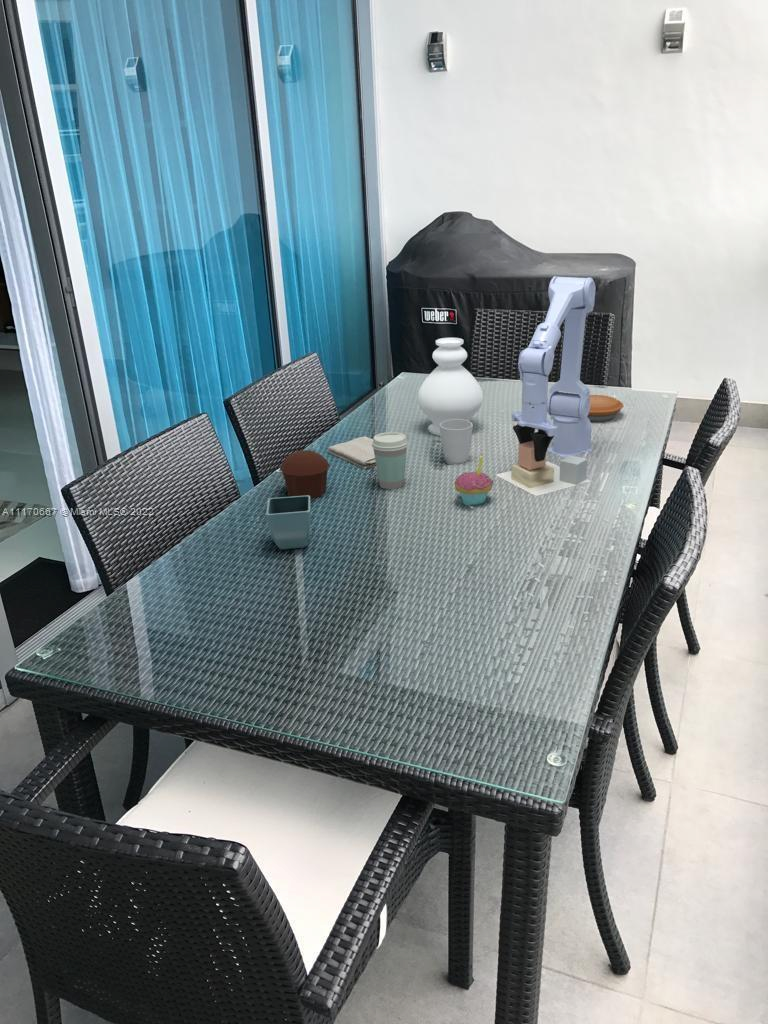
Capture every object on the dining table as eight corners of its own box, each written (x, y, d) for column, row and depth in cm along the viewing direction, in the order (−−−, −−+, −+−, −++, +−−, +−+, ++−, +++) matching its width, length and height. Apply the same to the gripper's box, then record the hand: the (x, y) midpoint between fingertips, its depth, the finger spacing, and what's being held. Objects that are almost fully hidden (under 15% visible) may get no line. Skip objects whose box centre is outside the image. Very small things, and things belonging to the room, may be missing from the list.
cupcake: (496, 497, 199) (496, 447, 195) (487, 511, 192) (488, 460, 187) (459, 493, 202) (459, 444, 197) (450, 508, 195) (449, 457, 190)
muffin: (273, 499, 204) (269, 458, 200) (294, 482, 213) (291, 443, 209) (320, 504, 200) (317, 463, 196) (339, 486, 209) (336, 447, 205)
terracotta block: (533, 460, 207) (534, 440, 205) (545, 465, 204) (546, 445, 202) (518, 464, 205) (518, 444, 203) (529, 470, 202) (530, 449, 200)
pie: (567, 424, 245) (568, 407, 243) (566, 408, 259) (567, 391, 257) (624, 425, 243) (625, 407, 241) (620, 408, 257) (621, 392, 255)
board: (548, 463, 218) (548, 461, 217) (591, 483, 205) (591, 481, 204) (495, 477, 211) (495, 474, 211) (536, 498, 198) (536, 496, 198)
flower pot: (271, 536, 185) (267, 497, 182) (313, 533, 186) (310, 494, 182) (270, 554, 177) (266, 514, 173) (313, 551, 178) (310, 511, 174)
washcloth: (366, 472, 219) (365, 460, 218) (325, 454, 232) (325, 443, 231) (403, 460, 225) (402, 449, 224) (361, 444, 239) (361, 433, 237)
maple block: (535, 473, 210) (535, 459, 209) (553, 481, 205) (554, 467, 203) (511, 479, 207) (511, 465, 206) (529, 488, 202) (529, 474, 200)
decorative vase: (485, 438, 237) (485, 347, 227) (419, 440, 238) (417, 349, 228) (479, 418, 253) (479, 332, 243) (418, 420, 254) (415, 334, 244)
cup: (472, 456, 225) (472, 419, 220) (472, 467, 217) (472, 429, 213) (441, 456, 225) (440, 419, 221) (439, 467, 218) (439, 429, 214)
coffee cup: (415, 480, 211) (413, 433, 206) (400, 493, 204) (398, 444, 199) (383, 476, 214) (380, 429, 210) (367, 488, 207) (365, 440, 203)
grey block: (569, 474, 208) (570, 455, 206) (586, 478, 206) (587, 459, 204) (559, 480, 205) (560, 460, 203) (576, 484, 203) (577, 464, 201)
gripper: (501, 396, 203) (500, 452, 208) (540, 411, 191) (538, 470, 196) (525, 391, 206) (524, 446, 211) (565, 406, 194) (563, 463, 199)
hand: (533, 457), depth 204 cm, fingers closed on terracotta block, 4 cm apart
